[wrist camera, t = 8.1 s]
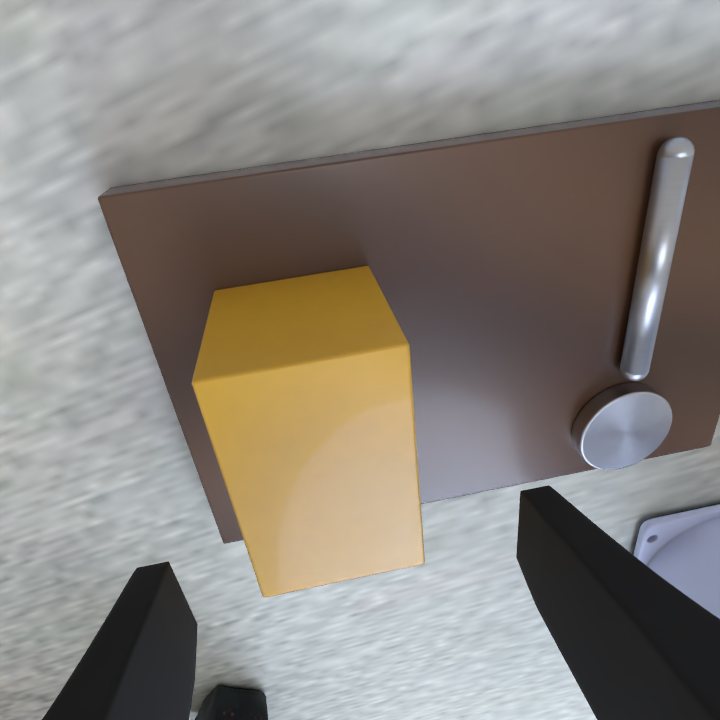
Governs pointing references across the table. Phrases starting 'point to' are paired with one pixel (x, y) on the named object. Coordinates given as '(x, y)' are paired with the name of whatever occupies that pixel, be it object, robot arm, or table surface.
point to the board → (456, 281)
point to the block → (313, 427)
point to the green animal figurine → (233, 705)
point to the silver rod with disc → (640, 331)
